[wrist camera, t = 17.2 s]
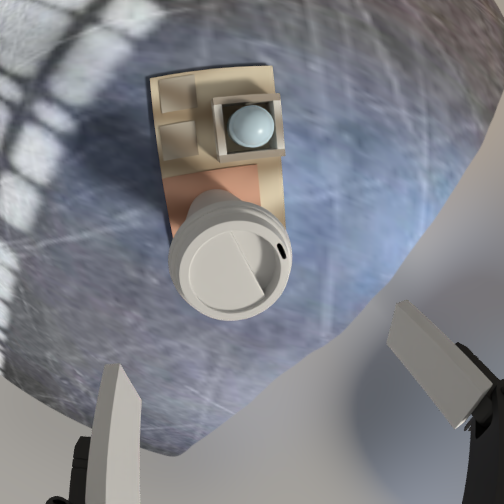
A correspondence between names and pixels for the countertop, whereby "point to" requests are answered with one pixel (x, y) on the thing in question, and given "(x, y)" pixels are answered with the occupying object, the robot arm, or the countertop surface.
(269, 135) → the dome
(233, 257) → the coffee cup
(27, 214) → the countertop surface
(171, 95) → the board
